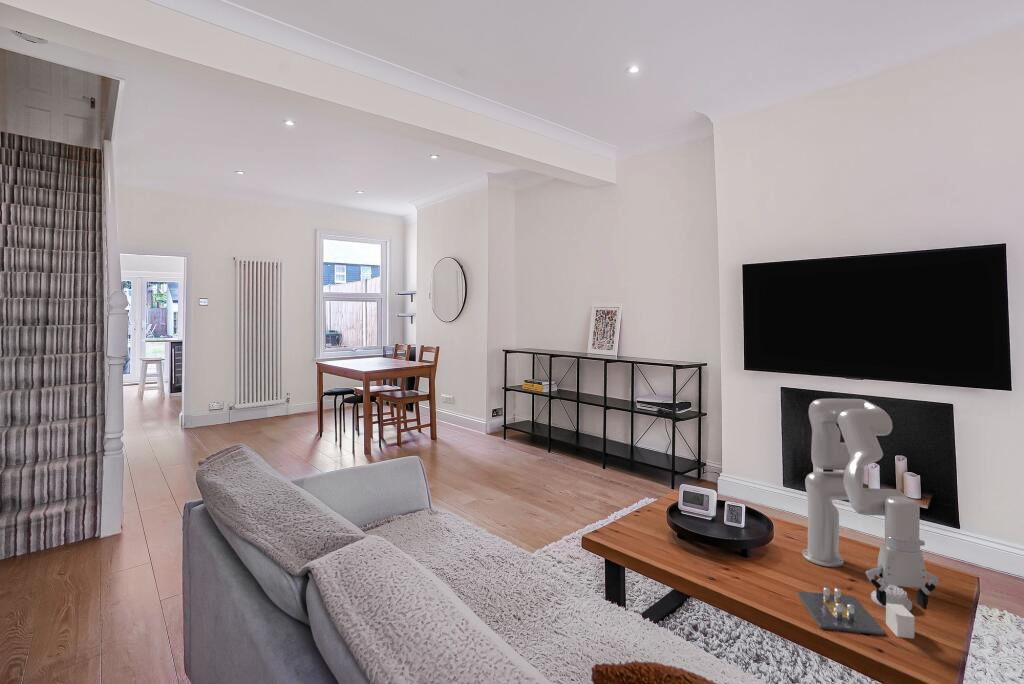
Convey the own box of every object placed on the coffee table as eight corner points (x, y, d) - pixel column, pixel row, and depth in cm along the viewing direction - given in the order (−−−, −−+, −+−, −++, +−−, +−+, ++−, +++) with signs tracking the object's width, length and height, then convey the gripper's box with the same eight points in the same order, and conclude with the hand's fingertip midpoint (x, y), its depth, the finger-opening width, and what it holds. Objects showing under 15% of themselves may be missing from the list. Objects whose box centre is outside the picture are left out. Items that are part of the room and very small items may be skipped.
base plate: (797, 594, 158) (797, 578, 157) (854, 599, 154) (854, 583, 154) (820, 628, 140) (820, 611, 140) (884, 635, 137) (885, 617, 136)
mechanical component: (912, 601, 153) (872, 590, 160) (912, 587, 153) (872, 577, 159) (911, 616, 146) (869, 604, 152) (912, 601, 145) (870, 590, 152)
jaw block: (885, 623, 142) (886, 603, 142) (901, 625, 141) (902, 604, 141) (897, 636, 136) (897, 615, 136) (914, 638, 135) (914, 617, 135)
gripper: (929, 540, 139) (929, 601, 140) (860, 535, 143) (859, 595, 143) (947, 551, 132) (946, 616, 132) (873, 546, 136) (873, 609, 136)
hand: (901, 605), depth 138 cm, fingers open, 9 cm apart
